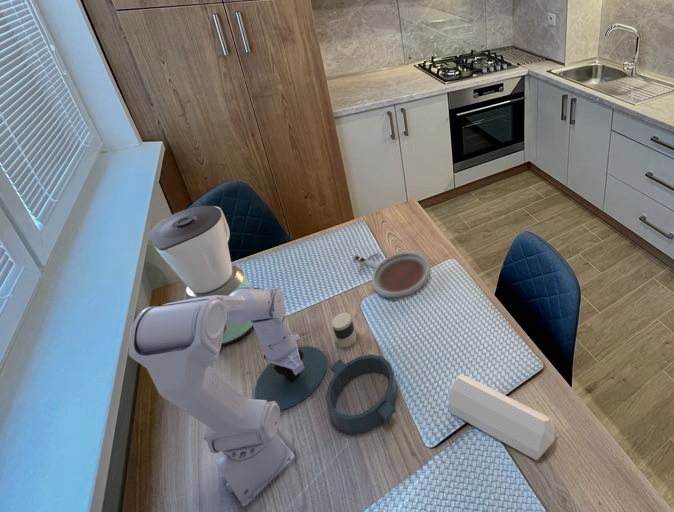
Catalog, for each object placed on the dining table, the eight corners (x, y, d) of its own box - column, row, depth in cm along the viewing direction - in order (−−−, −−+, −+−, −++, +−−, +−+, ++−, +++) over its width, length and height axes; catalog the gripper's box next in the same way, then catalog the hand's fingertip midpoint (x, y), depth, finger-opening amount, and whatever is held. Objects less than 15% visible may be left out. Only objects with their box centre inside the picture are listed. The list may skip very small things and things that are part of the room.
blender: (246, 353, 99) (195, 242, 84) (187, 360, 98) (124, 249, 83) (276, 292, 116) (238, 191, 101) (226, 298, 115) (180, 196, 100)
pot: (366, 459, 78) (360, 443, 76) (312, 401, 88) (305, 385, 86) (418, 399, 88) (415, 383, 86) (364, 353, 98) (360, 338, 96)
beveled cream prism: (564, 409, 82) (464, 361, 92) (554, 429, 76) (447, 375, 85) (557, 445, 82) (458, 393, 92) (546, 469, 75) (440, 410, 85)
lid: (277, 427, 84) (270, 414, 82) (244, 387, 92) (237, 374, 90) (340, 370, 95) (336, 357, 93) (305, 338, 103) (301, 326, 101)
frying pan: (372, 236, 134) (441, 260, 122) (373, 243, 135) (442, 267, 123) (330, 271, 120) (404, 302, 108) (333, 278, 121) (406, 309, 110)
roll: (345, 352, 99) (338, 331, 96) (334, 342, 101) (327, 322, 98) (360, 338, 102) (354, 317, 99) (349, 329, 105) (344, 309, 101)
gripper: (311, 337, 86) (325, 378, 92) (276, 306, 94) (291, 345, 99) (277, 363, 81) (295, 405, 87) (244, 328, 88) (262, 368, 94)
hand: (291, 374), depth 93 cm, fingers closed on lid, 2 cm apart
